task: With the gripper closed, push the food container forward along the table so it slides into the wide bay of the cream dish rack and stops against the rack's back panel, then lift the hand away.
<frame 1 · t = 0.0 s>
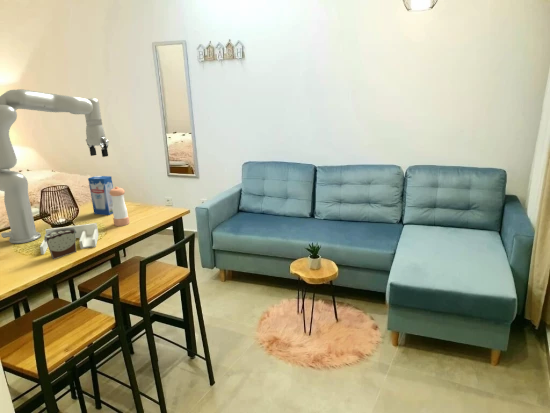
hand: (99, 155, 216), 31 cm above the table, tool pointing down, fingers open, 9 cm apart
pepper shaker: (122, 224, 204), on the table
food container: (61, 254, 169), on the table
milk carton: (105, 213, 223), on the table
rack: (65, 245, 178), on the table
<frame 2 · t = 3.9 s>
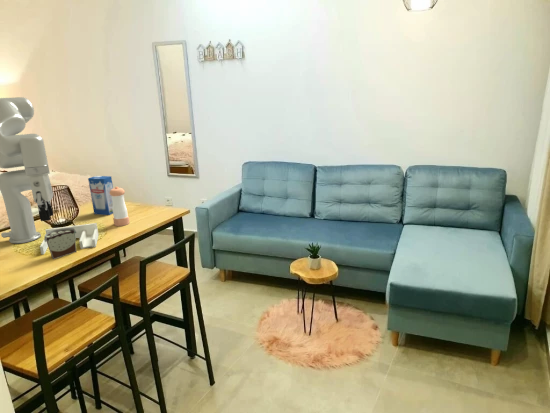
hand: (47, 217, 153), 19 cm above the table, tool pointing down, fingers open, 5 cm apart
nothing on the table moved.
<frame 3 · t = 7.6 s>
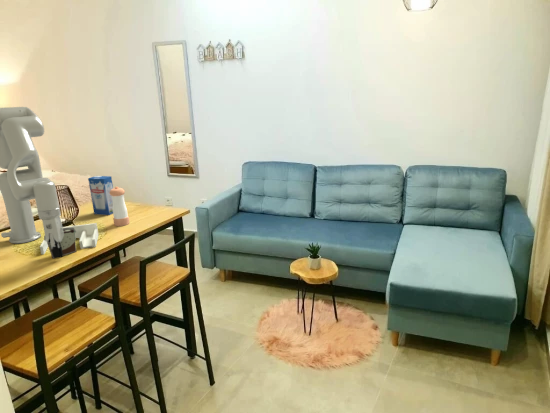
hand: (58, 256, 163), 1 cm above the table, tool pointing down, fingers closed
nothing on the table moved.
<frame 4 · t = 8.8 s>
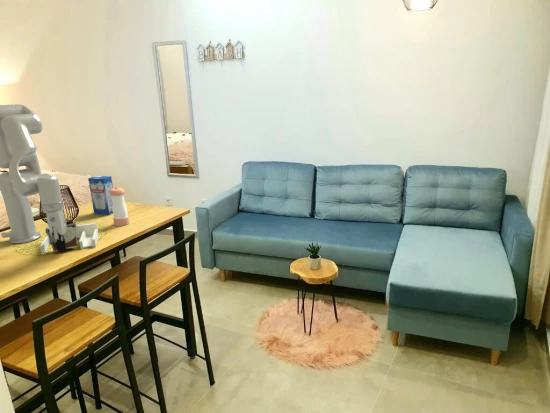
hand: (62, 249, 168), 2 cm above the table, tool pointing down, fingers closed
food container: (63, 249, 172), on the table, touching gripper
everything else where it was.
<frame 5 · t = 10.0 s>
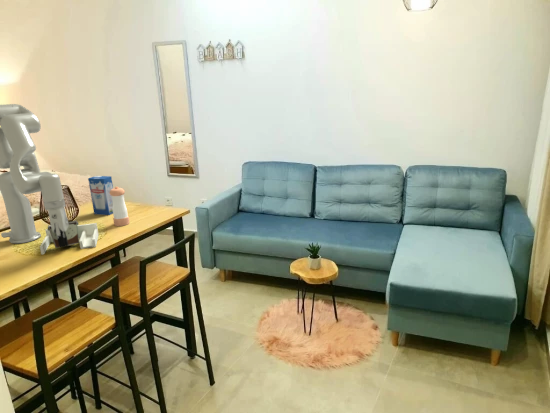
hand: (63, 246, 171), 2 cm above the table, tool pointing down, fingers closed
food container: (65, 246, 176), on the table, touching gripper
everything else where it was.
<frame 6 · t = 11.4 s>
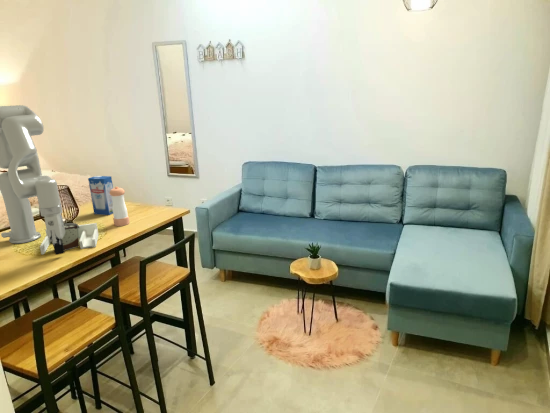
hand: (59, 253, 166), 2 cm above the table, tool pointing down, fingers closed
food container: (65, 248, 176), on the table
everything else where it was.
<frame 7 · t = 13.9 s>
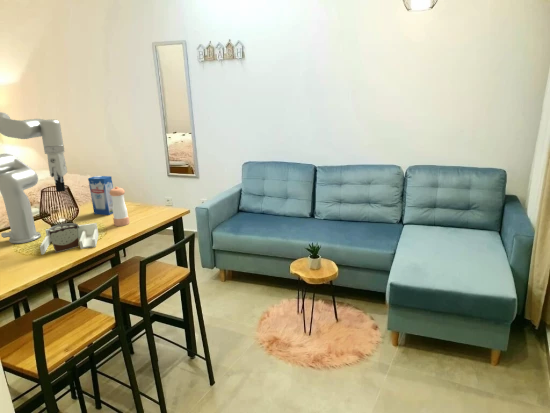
hand: (61, 191, 178), 23 cm above the table, tool pointing down, fingers closed
nothing on the table moved.
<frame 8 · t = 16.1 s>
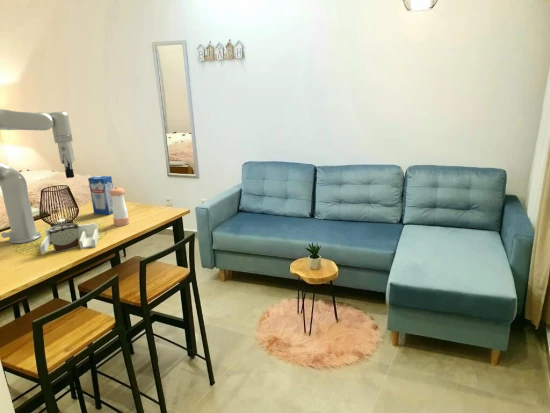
hand: (70, 177, 195), 25 cm above the table, tool pointing down, fingers closed
nothing on the table moved.
at the end: food container inside the target area on the rack (1.7 cm from its centre), point 0.0 cm above the rack's base; food container tilted 0°; food container moved 7.1 cm from its start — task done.
